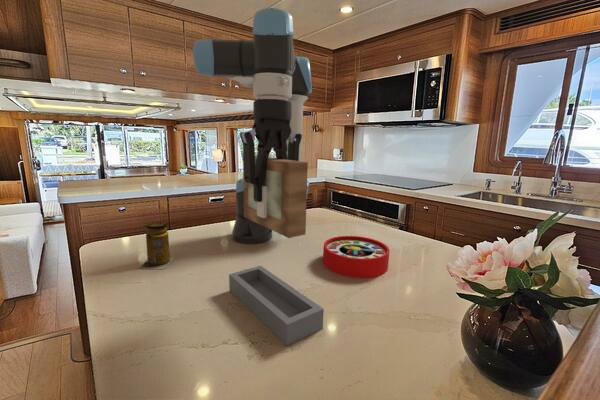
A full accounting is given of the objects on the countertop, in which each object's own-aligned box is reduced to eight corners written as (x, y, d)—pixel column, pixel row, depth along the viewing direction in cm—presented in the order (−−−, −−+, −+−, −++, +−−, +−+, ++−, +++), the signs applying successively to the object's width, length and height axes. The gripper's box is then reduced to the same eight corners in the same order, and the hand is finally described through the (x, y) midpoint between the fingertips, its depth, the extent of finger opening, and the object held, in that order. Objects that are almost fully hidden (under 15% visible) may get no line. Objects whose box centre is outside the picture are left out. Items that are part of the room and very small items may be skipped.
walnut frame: (243, 216, 70) (242, 156, 67) (259, 214, 73) (259, 155, 70) (288, 238, 56) (289, 163, 54) (305, 234, 59) (308, 162, 56)
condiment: (175, 257, 95) (172, 221, 93) (164, 269, 87) (161, 229, 84) (151, 257, 95) (148, 220, 92) (138, 269, 87) (134, 229, 84)
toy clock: (327, 233, 105) (387, 238, 101) (327, 249, 106) (385, 255, 102) (319, 255, 86) (392, 262, 82) (318, 274, 87) (390, 282, 83)
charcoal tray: (229, 290, 76) (229, 274, 75) (260, 281, 81) (260, 265, 80) (287, 346, 57) (287, 324, 56) (322, 328, 62) (323, 308, 61)
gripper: (241, 93, 51) (243, 225, 56) (318, 102, 62) (314, 213, 67) (223, 97, 57) (226, 216, 62) (296, 104, 67) (294, 206, 72)
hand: (271, 214), depth 64 cm, fingers closed on walnut frame, 4 cm apart
